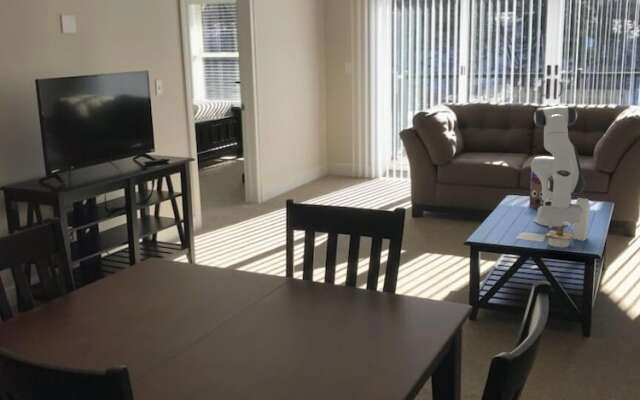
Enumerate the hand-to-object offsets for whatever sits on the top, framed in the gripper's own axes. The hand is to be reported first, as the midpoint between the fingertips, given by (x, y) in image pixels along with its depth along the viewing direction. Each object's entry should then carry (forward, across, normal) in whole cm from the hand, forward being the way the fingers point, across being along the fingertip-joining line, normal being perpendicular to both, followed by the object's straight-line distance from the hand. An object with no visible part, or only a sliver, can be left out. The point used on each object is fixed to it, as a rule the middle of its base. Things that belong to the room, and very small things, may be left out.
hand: (559, 228), depth 355 cm
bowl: (+9, 0, 0) cm, 9 cm away
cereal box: (+9, +27, -81) cm, 86 cm away
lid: (+4, 0, 0) cm, 4 cm away
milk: (+9, -7, -18) cm, 21 cm away
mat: (+9, +16, -8) cm, 20 cm away
